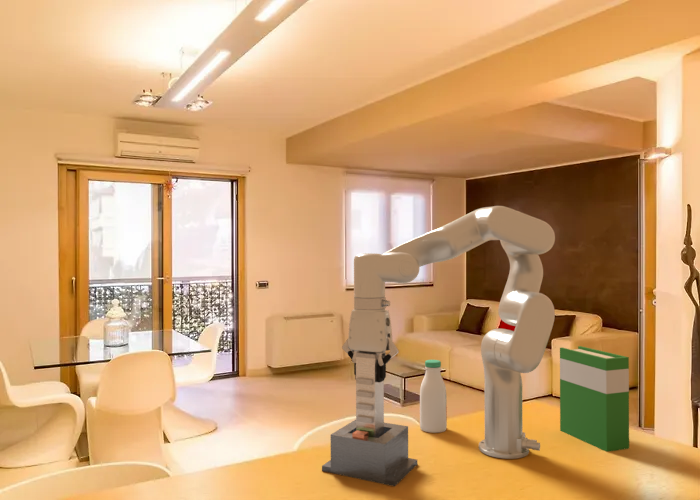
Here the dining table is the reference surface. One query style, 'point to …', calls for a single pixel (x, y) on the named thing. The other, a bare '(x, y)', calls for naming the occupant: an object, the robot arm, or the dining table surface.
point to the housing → (371, 454)
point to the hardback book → (595, 397)
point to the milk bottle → (433, 399)
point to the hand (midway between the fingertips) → (369, 379)
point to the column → (369, 395)
